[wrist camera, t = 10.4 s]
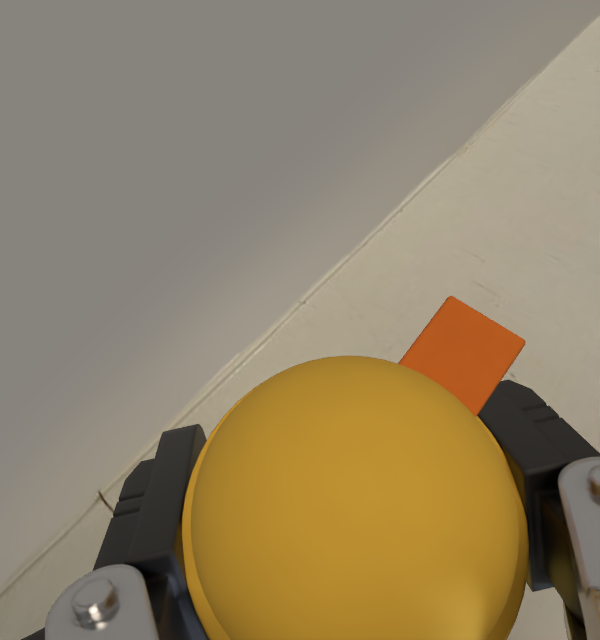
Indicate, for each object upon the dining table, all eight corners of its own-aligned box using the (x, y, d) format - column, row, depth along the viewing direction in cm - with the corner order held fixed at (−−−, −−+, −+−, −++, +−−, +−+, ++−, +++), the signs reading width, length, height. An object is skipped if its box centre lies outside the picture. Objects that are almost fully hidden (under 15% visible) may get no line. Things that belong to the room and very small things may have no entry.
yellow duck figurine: (372, 698, 13) (432, 1046, 4) (217, 555, 14) (-17, 542, 5) (497, 499, 14) (760, 386, 5) (345, 389, 16) (340, 155, 7)
